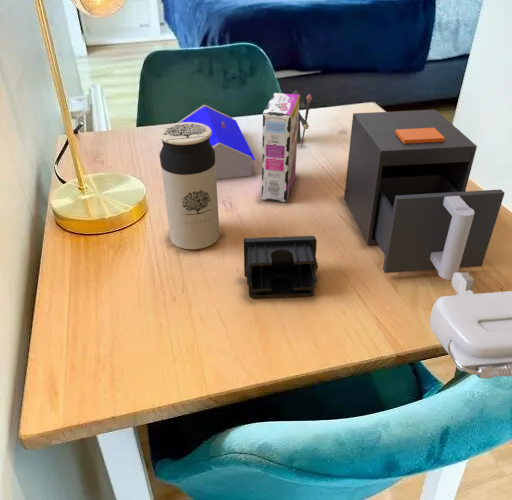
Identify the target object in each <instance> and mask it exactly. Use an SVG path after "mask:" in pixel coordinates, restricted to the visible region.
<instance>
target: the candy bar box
mask: <svg viewBox="0 0 512 500" xmlns="http://www.w3.org/2000/svg"><path fill="white" fill-rule="evenodd" d="M300 96H301V94H300V95H298V94H292V93H287V92H286V93H283V92H274V93H273V95H272V97H271V98H270V100H269V102H268V103H267V105H266V107H265V108H264V110H263V112H262V146H261V147H262V149H261V150H262V152H261V153H262V154H261V156H262V158H261V200H262V201H266V202H267V201H268V202H275V203H287V202H288V200H289V196H290V192H291V189H292V186H293V183H294V180H295V178H296V171H297V170H296V169H297V168H296V167H297V166H296V165H297V149H298V148H297V147H298V142H297V133H298V117H299V112H300V108H299V99H300Z"/></svg>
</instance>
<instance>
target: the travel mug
mask: <svg viewBox="0 0 512 500" xmlns="http://www.w3.org/2000/svg"><path fill="white" fill-rule="evenodd" d="M211 134H212V130H211V129H210V128H209V127H208V126H206V125H204V124H201V123H195V122H182V123H178V122H176V123H171V124H168V125H166V126H164V127H163V128H161V129H160V130H159V132H158V137H159V139H160V140H161V143H162V147H161V150H160V152H159V161H160V169H161V177H162V185H163V192H164V199H165V208H166V209H165V210H166V216H167V225H168V230H169V231H168V232H169V239H170V241H171V243H172V244H173V245H174V246H176V247H178V248H180V249H185V250H199V249H204V248H207V247H210V246H212V245H213V244H215V243H216V242H217V241H218V240H219V238H220V233H221V232H220V216H219V199H218V184H217V183H218V182H217V179H216V165H215V151H214V149H213V147H212V146H211V144H210V136H211Z"/></svg>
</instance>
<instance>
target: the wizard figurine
mask: <svg viewBox="0 0 512 500" xmlns="http://www.w3.org/2000/svg"><path fill="white" fill-rule="evenodd" d="M291 94H298V95H300V99H299V109H300V108H301V109H305V115H304V117H303V116H302V114H301V111H299V117H298V133H297V143H298V142H300V141H301V145H300V147H303V143H304V140H305V139H304V137H305V132H306V130H308V129H309V127H310V125H309V123H308V117H309V111H310V106H311V102H312V100H313V97H312V94H311V93H309V94H308V95H306V104H305V103H304V102H303V97H302V96H301V94H300V93H299V90H297V89H296V90H293V92H292V93H291ZM301 125H302V128H303V131H302V133H301Z"/></svg>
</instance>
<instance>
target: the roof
mask: <svg viewBox="0 0 512 500" xmlns="http://www.w3.org/2000/svg"><path fill="white" fill-rule="evenodd" d="M182 122H195V123H201V124H204V125H206V126H208V127H209V128H210V129H211V130H212V134H211V136H210V144H211V146H212V147H213V149H214V151H215V165H216V180H224V179H233V178H244V177H251V176H253V161H256V158H255V156H254V154H253V152H252V150H251V148H250V146H249V144H248V141H247V139H246V138H245V136H244V134H243V132H242V130H241V128H240V126H239V123H238V122H237V120H236V119H234V118H233V117H232V116H230V115H227V114H226V113H223V112H221V111H219V110H217V109H215V108H213V107H211V106H209V105H207V104H203V105H201V106H200V107H198V108H197V109H195V110H194V111H192V112H191V113H189V114H188V115H186V116H185V117H184V118H182V119H181V120H179V121H178V122H177V123H182Z"/></svg>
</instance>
